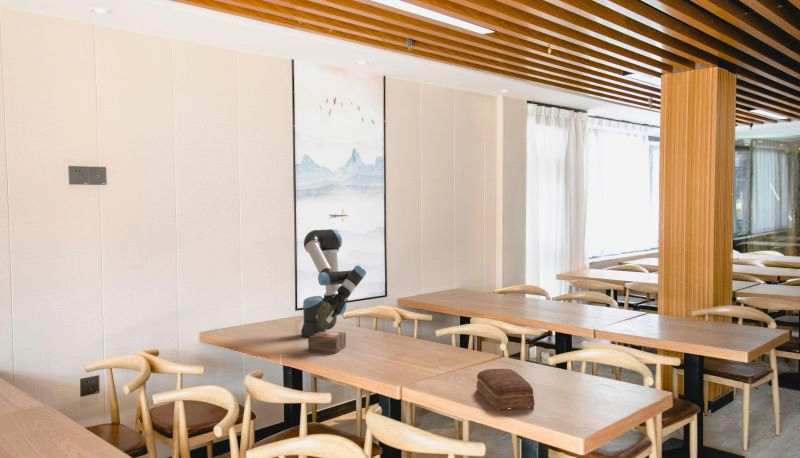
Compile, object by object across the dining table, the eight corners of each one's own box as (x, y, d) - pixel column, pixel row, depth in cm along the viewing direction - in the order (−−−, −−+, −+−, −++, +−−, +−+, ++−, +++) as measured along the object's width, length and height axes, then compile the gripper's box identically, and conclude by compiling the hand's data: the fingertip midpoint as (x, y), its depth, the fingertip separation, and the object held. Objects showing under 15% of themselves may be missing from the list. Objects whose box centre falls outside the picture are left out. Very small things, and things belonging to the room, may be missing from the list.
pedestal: (319, 345, 364) (318, 330, 364) (345, 346, 360) (345, 332, 360) (308, 352, 349) (308, 337, 348) (336, 353, 345) (335, 338, 344)
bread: (512, 387, 279) (512, 361, 278) (536, 409, 250) (536, 380, 249) (474, 390, 276) (474, 363, 276) (494, 412, 247) (494, 383, 247)
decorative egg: (313, 329, 354) (312, 302, 353) (329, 326, 361) (328, 300, 360) (324, 332, 346) (324, 305, 345) (340, 329, 353) (340, 302, 352)
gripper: (361, 295, 352) (337, 327, 344) (339, 291, 371) (316, 321, 363) (352, 287, 349) (328, 318, 341) (331, 283, 368) (308, 313, 359)
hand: (322, 320), depth 352 cm, fingers closed on decorative egg, 11 cm apart
